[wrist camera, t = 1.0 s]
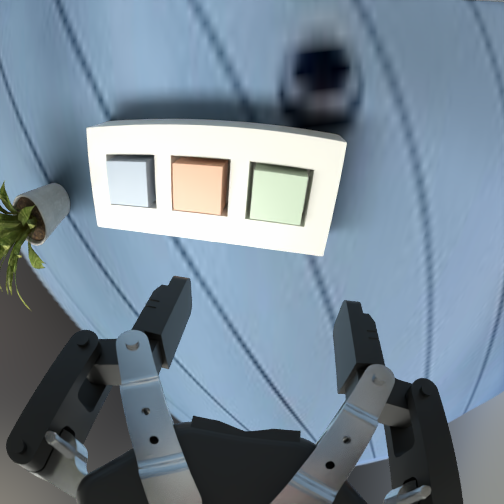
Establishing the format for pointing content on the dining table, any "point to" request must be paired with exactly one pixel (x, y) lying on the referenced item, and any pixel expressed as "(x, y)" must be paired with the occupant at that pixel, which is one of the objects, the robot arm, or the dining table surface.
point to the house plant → (30, 222)
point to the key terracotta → (200, 184)
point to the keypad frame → (238, 178)
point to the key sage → (278, 193)
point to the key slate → (131, 180)
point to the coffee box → (492, 0)
